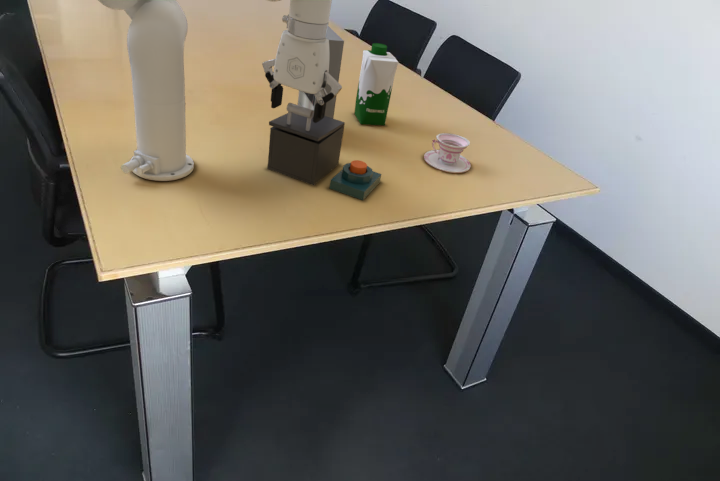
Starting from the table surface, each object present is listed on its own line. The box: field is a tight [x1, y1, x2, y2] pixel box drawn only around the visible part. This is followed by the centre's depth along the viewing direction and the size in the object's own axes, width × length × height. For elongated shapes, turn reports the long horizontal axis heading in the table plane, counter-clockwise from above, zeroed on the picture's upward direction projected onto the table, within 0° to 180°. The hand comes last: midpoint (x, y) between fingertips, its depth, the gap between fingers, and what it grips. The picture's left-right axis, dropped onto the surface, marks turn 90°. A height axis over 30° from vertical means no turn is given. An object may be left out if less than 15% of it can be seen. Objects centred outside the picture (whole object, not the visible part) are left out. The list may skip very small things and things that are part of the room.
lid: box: [268, 102, 346, 141], centre depth 121 cm, size 13×12×5 cm
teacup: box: [423, 132, 472, 174], centre depth 140 cm, size 12×12×6 cm
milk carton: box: [354, 42, 399, 126], centre depth 152 cm, size 9×9×20 cm
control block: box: [329, 162, 382, 201], centre depth 123 cm, size 10×8×4 cm
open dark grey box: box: [267, 125, 345, 186], centre depth 125 cm, size 13×12×10 cm
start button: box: [350, 159, 368, 174], centre depth 122 cm, size 4×4×2 cm
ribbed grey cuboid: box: [297, 25, 345, 119], centre depth 138 cm, size 14×6×25 cm, turn 21°
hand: (296, 113), depth 116 cm, fingers open, 9 cm apart
